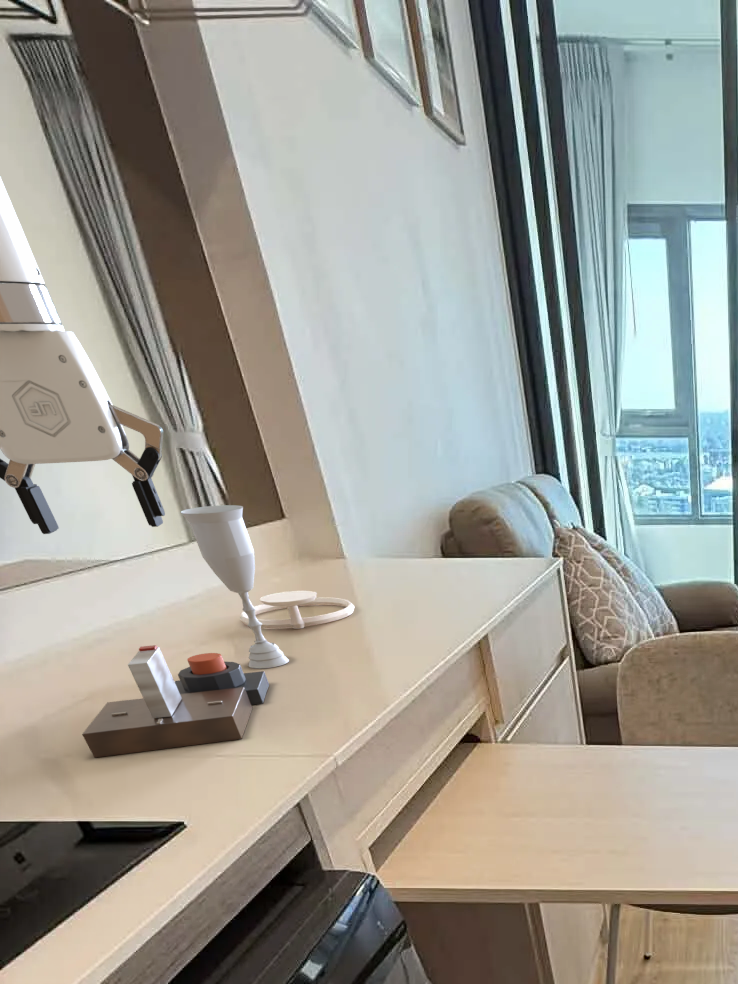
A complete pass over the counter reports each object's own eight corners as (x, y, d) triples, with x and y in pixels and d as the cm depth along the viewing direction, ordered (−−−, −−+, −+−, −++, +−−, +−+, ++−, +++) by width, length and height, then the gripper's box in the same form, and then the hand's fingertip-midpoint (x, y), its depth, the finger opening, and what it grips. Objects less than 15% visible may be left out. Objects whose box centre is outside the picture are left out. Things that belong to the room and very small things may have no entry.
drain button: (191, 678, 99) (184, 662, 98) (196, 670, 101) (189, 654, 100) (225, 674, 100) (219, 659, 98) (229, 666, 102) (223, 651, 101)
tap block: (94, 758, 88) (80, 732, 86) (118, 724, 96) (106, 700, 94) (241, 739, 91) (231, 714, 90) (252, 708, 99) (243, 685, 98)
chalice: (281, 670, 112) (224, 513, 100) (230, 671, 112) (168, 514, 100) (305, 655, 117) (253, 504, 106) (256, 655, 117) (200, 505, 106)
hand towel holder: (346, 572, 141) (349, 596, 126) (354, 600, 144) (358, 627, 129) (234, 581, 136) (223, 607, 121) (245, 611, 139) (236, 640, 124)
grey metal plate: (171, 716, 90) (146, 659, 86) (152, 718, 89) (126, 662, 86) (182, 698, 95) (158, 644, 91) (164, 700, 94) (139, 646, 90)
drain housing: (169, 714, 98) (155, 683, 96) (181, 694, 104) (168, 665, 102) (263, 703, 101) (251, 673, 99) (269, 684, 107) (258, 655, 104)
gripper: (-126, 311, 72) (-6, 540, 82) (105, 309, 76) (190, 527, 86) (-87, 315, 77) (20, 529, 88) (125, 313, 81) (203, 517, 92)
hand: (104, 528), depth 87 cm, fingers open, 9 cm apart
